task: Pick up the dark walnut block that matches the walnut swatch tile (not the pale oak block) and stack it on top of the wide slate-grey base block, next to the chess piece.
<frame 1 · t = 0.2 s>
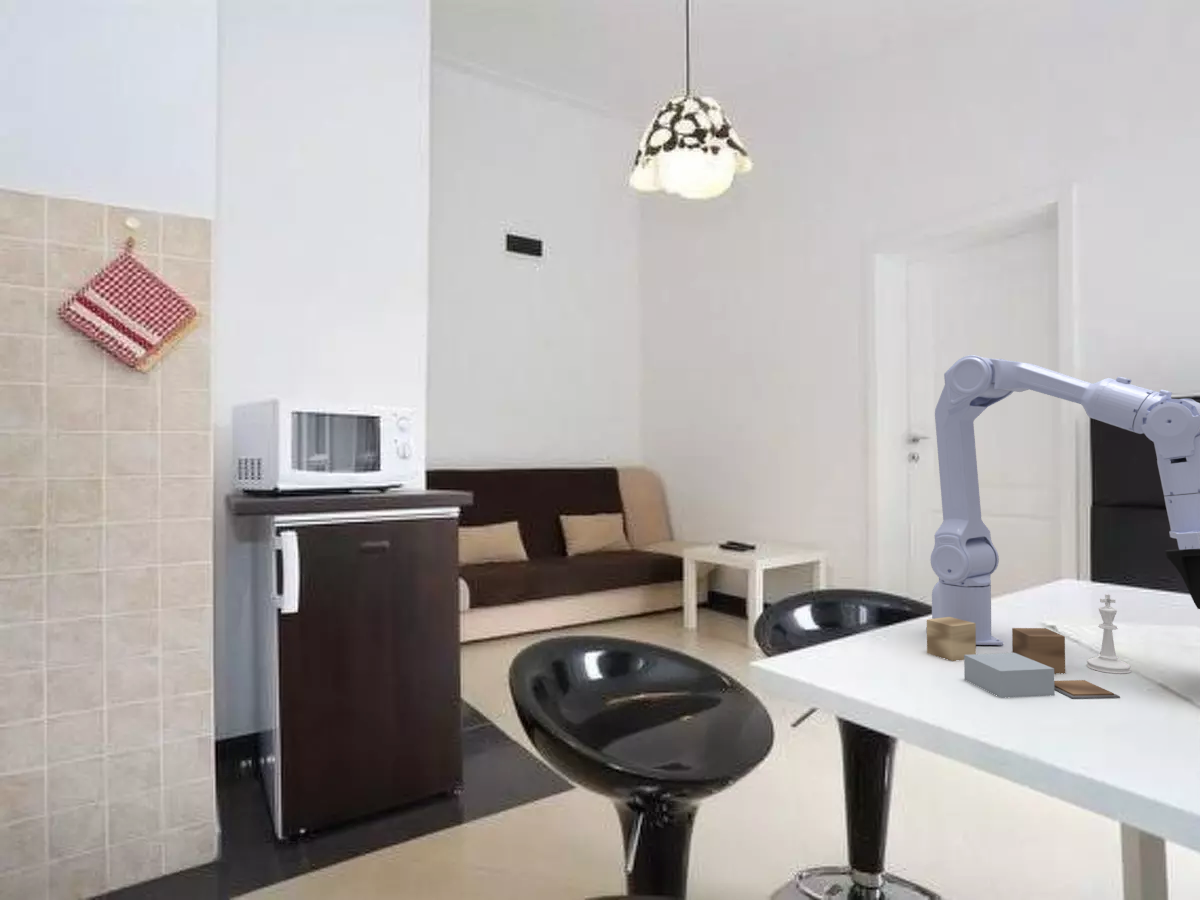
base block: (1008, 689, 89), on the table
walnut block: (1038, 668, 97), on the table
oak block: (951, 655, 103), on the table
walnut swatch: (1079, 690, 88), on the table
chess piece: (1108, 669, 97), on the table
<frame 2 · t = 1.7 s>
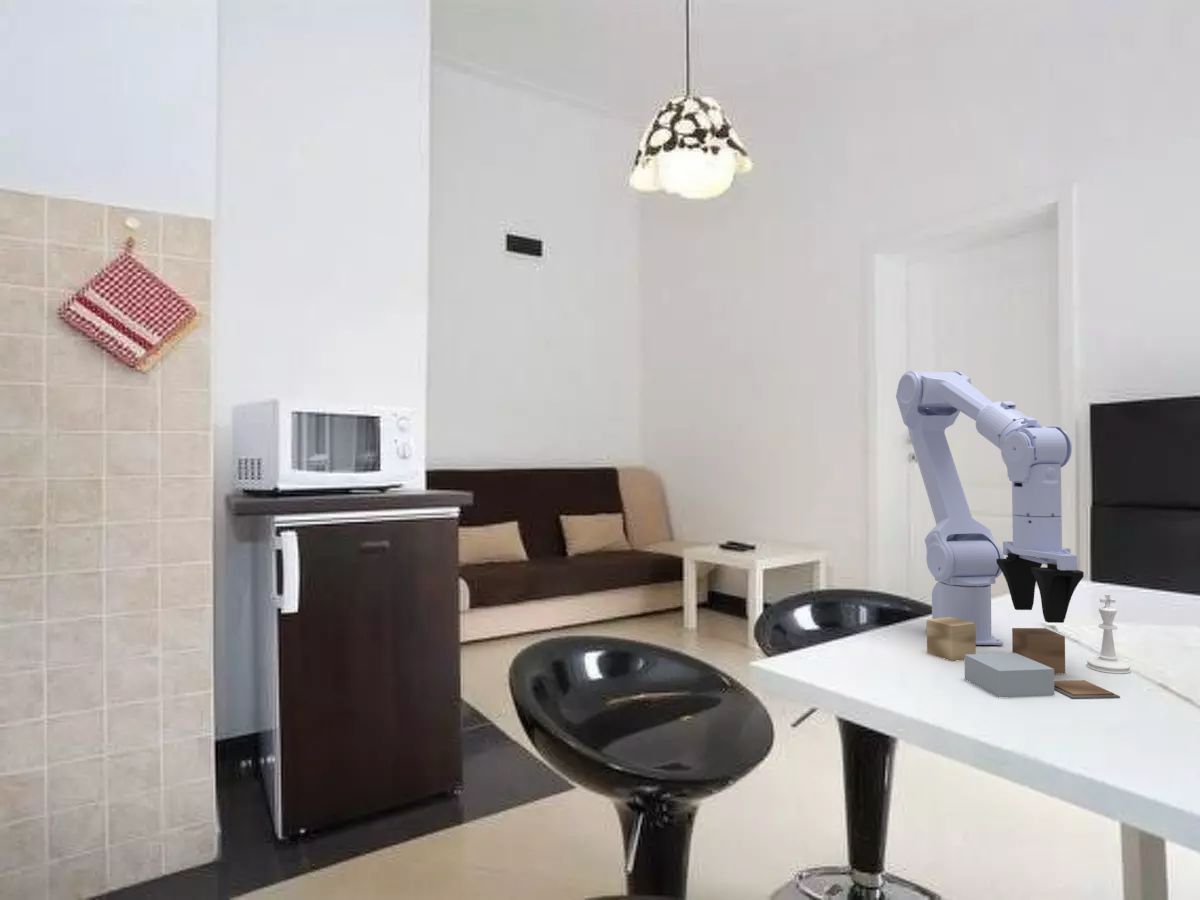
hand: (1038, 615, 97), 7 cm above the table, tool pointing down, fingers open, 7 cm apart
nothing on the table moved.
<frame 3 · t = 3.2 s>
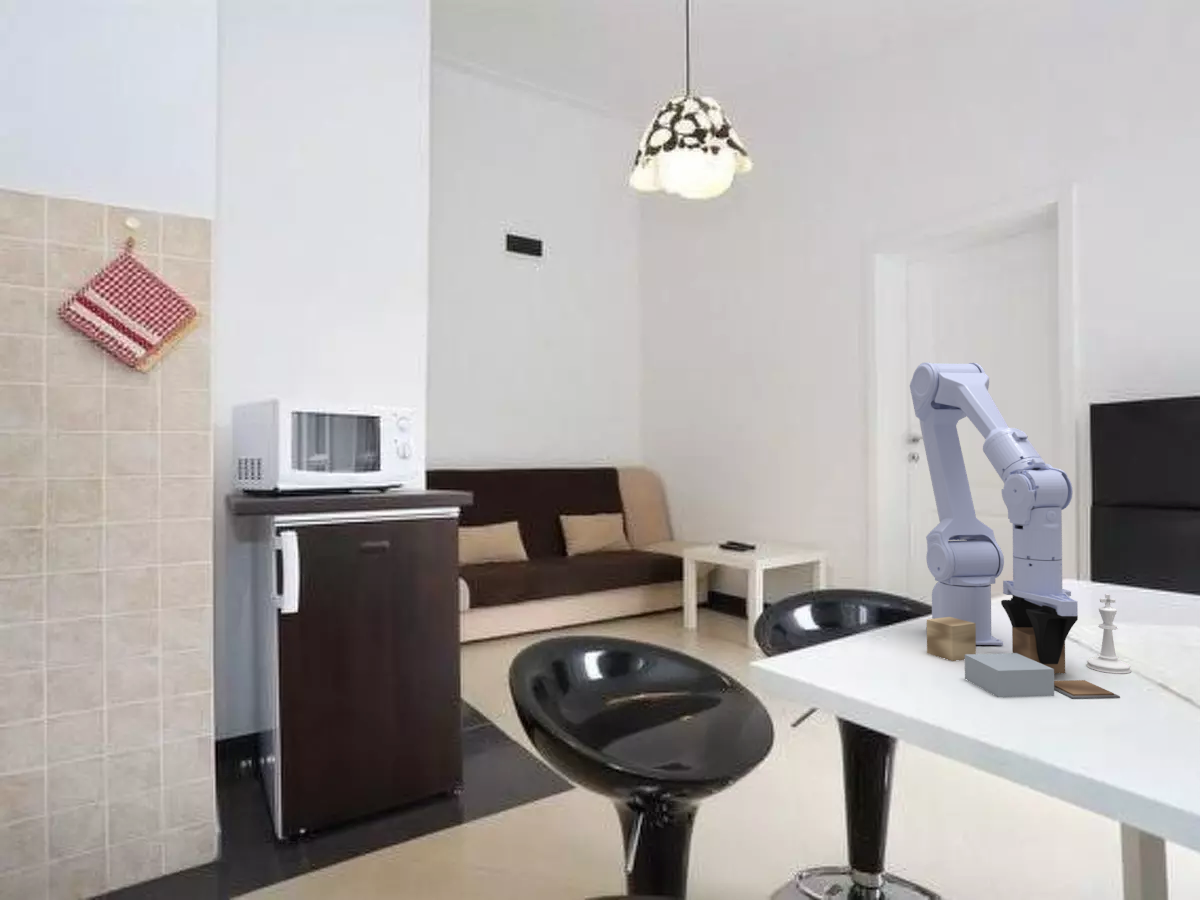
hand: (1038, 657, 97), 1 cm above the table, tool pointing down, fingers closed on walnut block, 4 cm apart
walnut block: (1038, 668, 97), on the table, touching gripper
everything else where it was.
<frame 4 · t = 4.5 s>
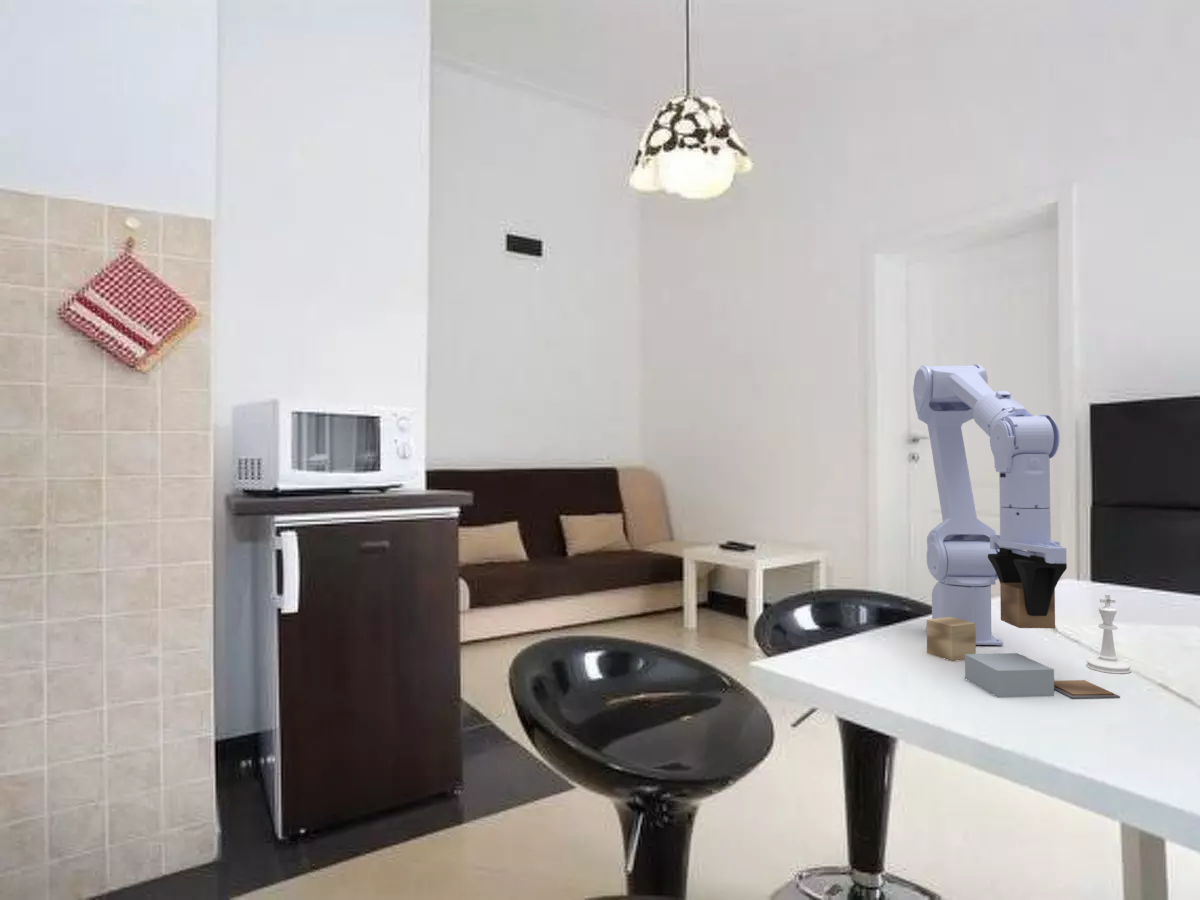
hand: (1026, 611, 93), 9 cm above the table, tool pointing down, fingers closed on walnut block, 4 cm apart
walnut block: (1027, 624, 93), point 7 cm above the table, touching gripper
everything else where it was.
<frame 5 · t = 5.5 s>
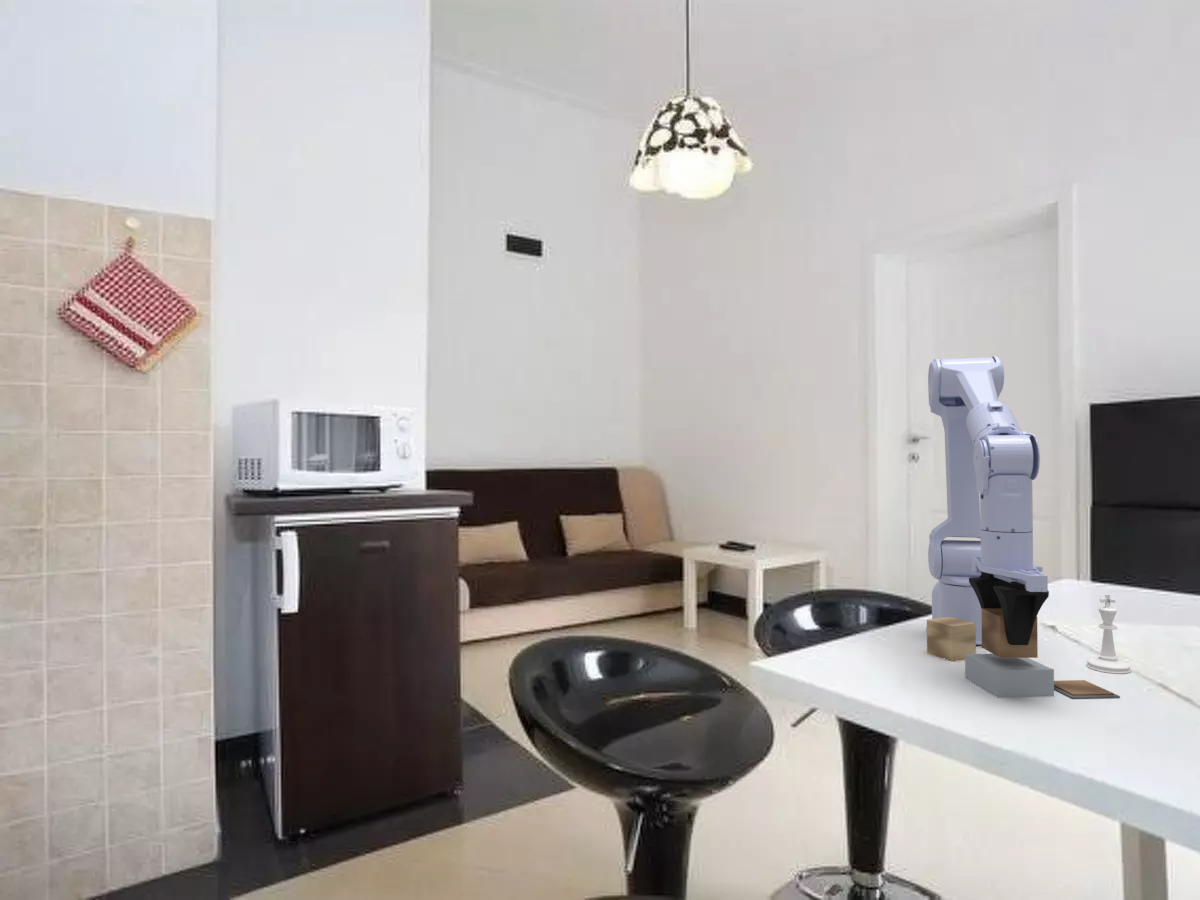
hand: (1007, 638, 89), 6 cm above the table, tool pointing down, fingers closed on walnut block, 4 cm apart
walnut block: (1008, 652, 89), point 4 cm above the table, touching gripper
everything else where it was.
when the fingers open (6 cm above the table, at t = 6.1 s): walnut block drops 1 cm, resting on base block.
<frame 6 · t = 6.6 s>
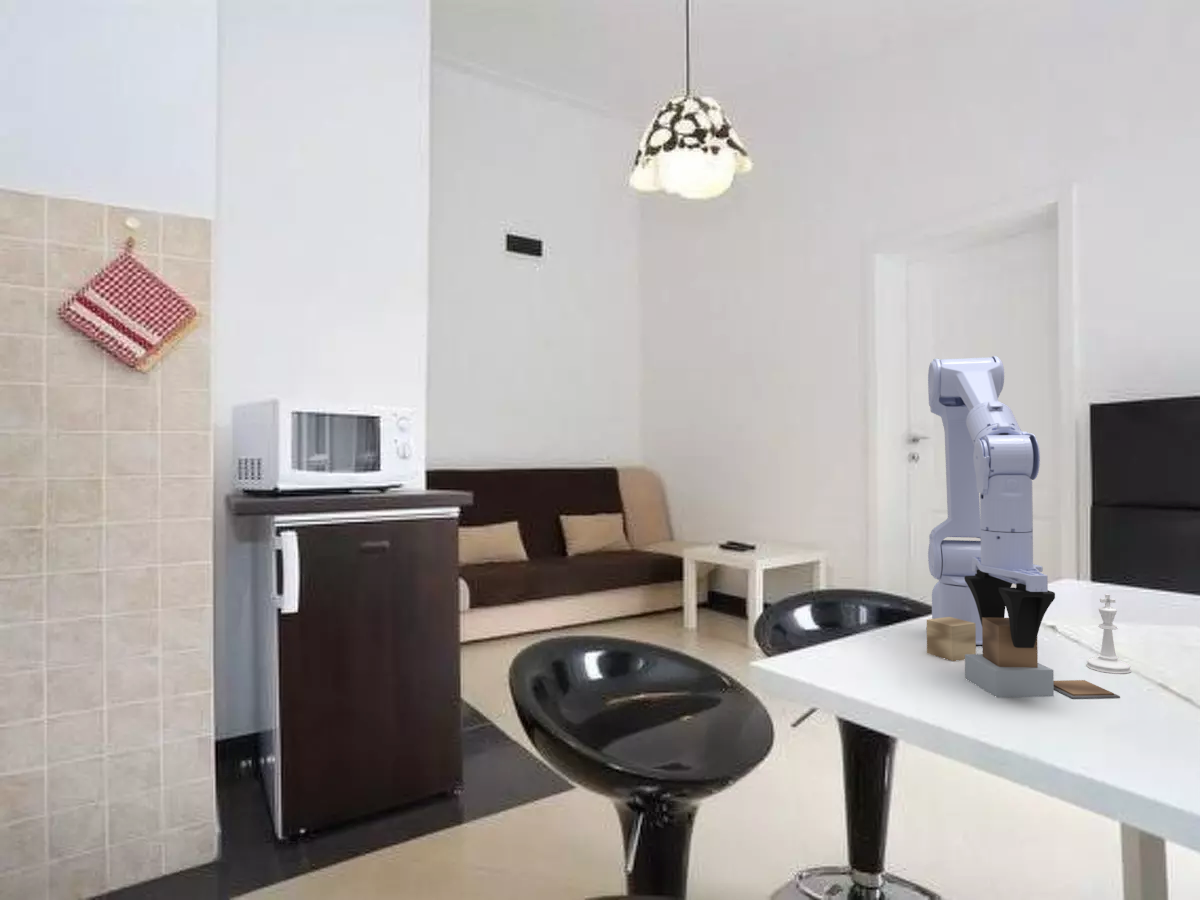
hand: (1007, 638, 89), 6 cm above the table, tool pointing down, fingers open, 7 cm apart
base block: (1007, 689, 89), on the table, touching walnut block
walnut block: (1009, 661, 89), point 3 cm above the table, touching base block
everything else where it was.
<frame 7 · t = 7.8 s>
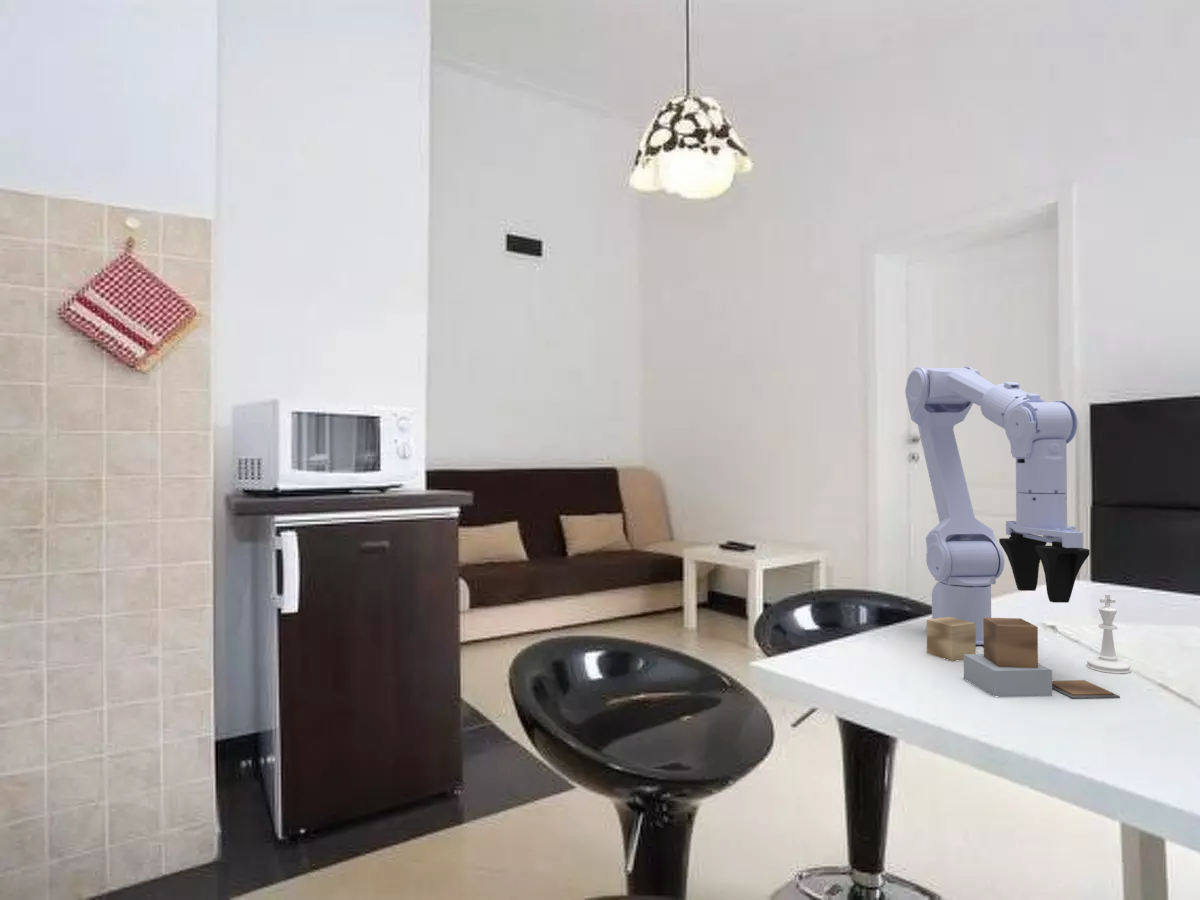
hand: (1042, 596, 94), 10 cm above the table, tool pointing down, fingers open, 7 cm apart
base block: (1006, 689, 89), on the table
walnut block: (1010, 662, 89), point 3 cm above the table
everything else where it was.
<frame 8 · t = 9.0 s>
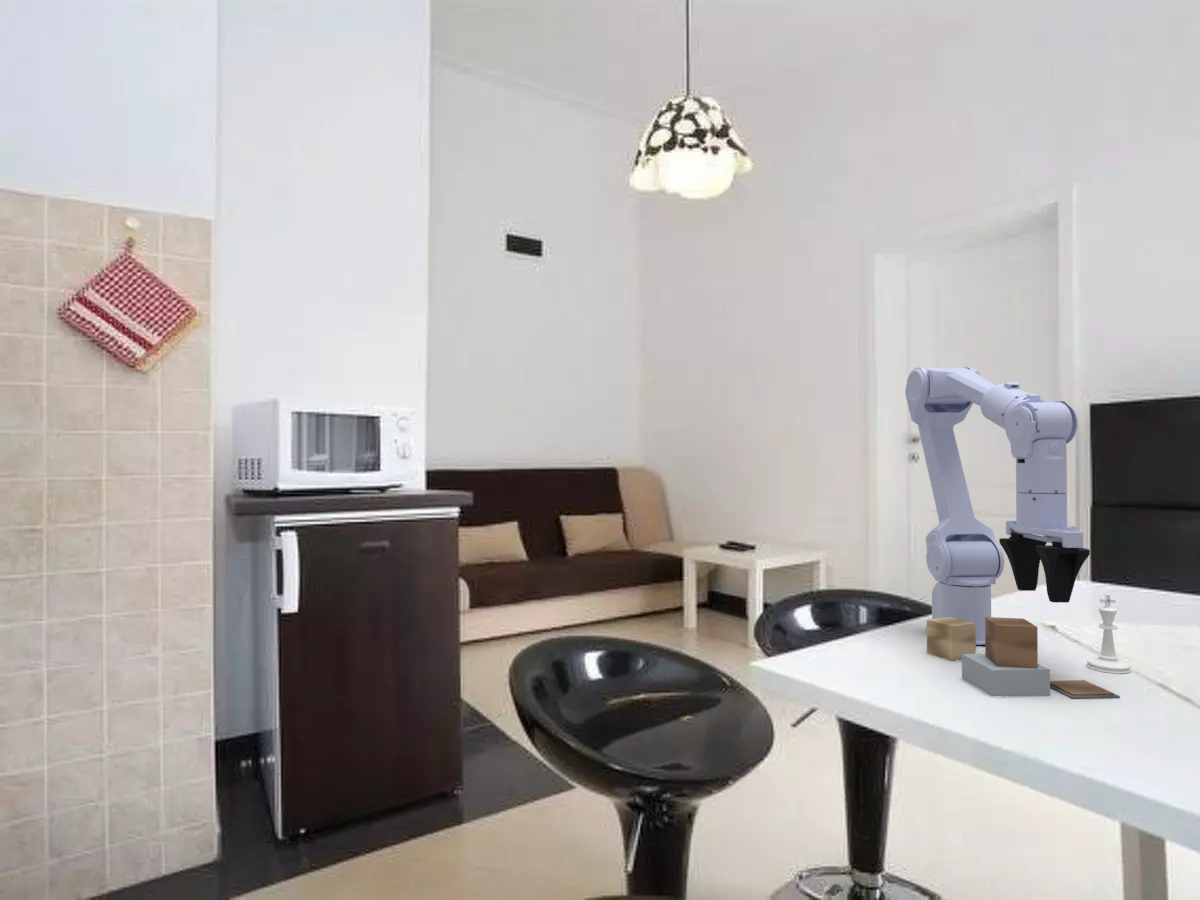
hand: (1042, 595, 94), 10 cm above the table, tool pointing down, fingers open, 7 cm apart
nothing on the table moved.
at the end: walnut block 0.8 cm off-centre on the base block, point 3.5 cm above the base block's base; walnut block tilted 0°; the gripper is holding nothing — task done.
